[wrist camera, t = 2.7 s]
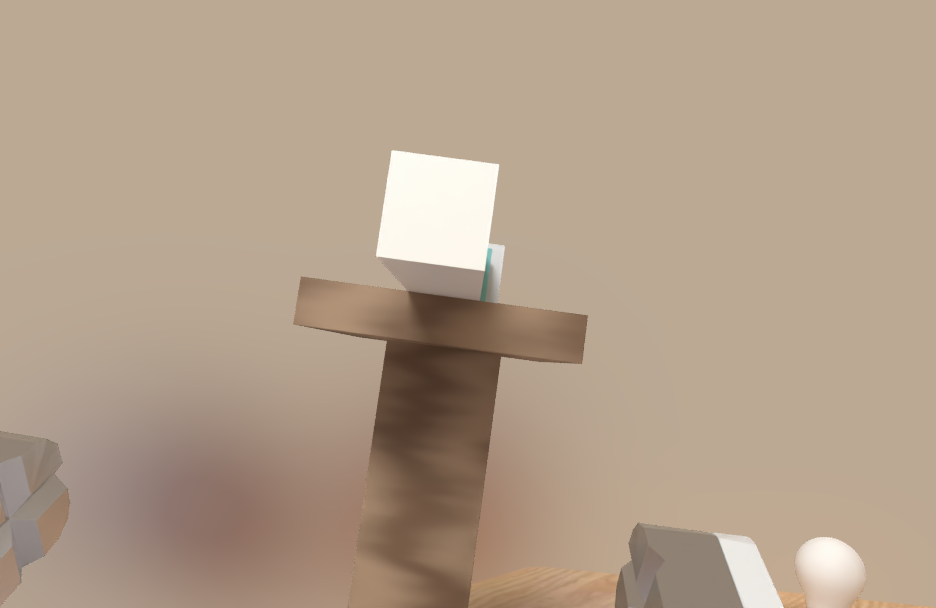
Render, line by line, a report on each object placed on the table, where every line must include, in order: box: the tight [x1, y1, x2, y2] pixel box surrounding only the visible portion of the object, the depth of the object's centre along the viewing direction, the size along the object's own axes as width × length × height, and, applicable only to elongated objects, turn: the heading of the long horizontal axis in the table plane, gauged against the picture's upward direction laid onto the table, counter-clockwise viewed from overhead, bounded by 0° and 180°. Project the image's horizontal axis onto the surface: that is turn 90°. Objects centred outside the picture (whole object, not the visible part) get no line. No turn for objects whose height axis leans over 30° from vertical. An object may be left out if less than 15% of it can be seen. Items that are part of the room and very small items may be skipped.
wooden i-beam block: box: [294, 277, 588, 608], centre depth 33 cm, size 12×16×26 cm
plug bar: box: [376, 150, 505, 303], centre depth 29 cm, size 5×22×4 cm, turn 0°
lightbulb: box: [794, 537, 867, 608], centre depth 62 cm, size 6×6×11 cm
